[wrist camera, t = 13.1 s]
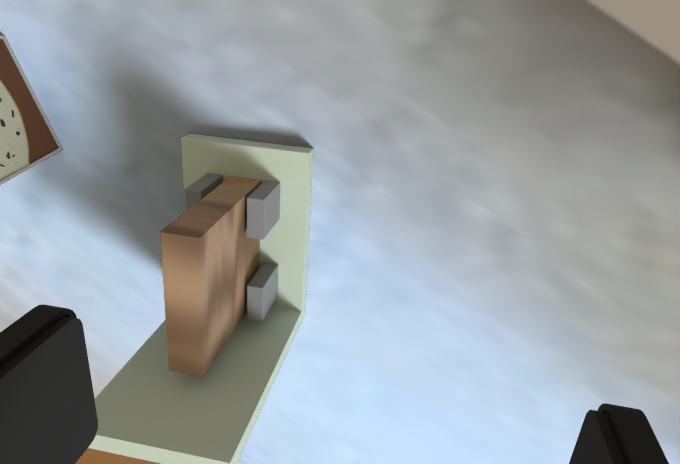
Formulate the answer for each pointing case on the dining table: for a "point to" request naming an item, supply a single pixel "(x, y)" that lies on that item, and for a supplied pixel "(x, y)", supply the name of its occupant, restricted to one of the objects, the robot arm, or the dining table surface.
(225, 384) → the hinge base
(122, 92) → the dining table surface
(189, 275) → the wooden block
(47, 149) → the food container
